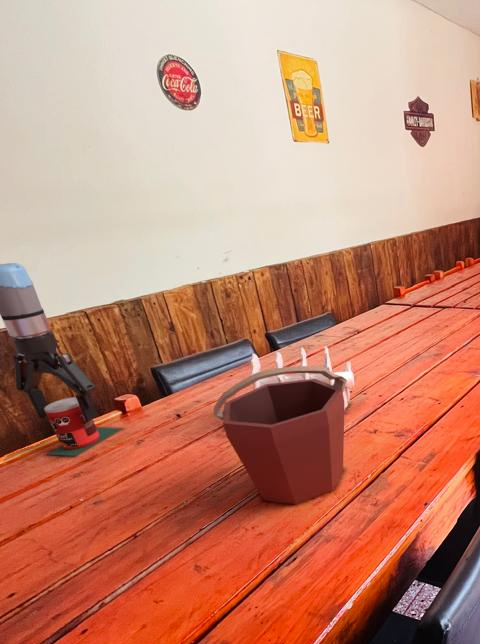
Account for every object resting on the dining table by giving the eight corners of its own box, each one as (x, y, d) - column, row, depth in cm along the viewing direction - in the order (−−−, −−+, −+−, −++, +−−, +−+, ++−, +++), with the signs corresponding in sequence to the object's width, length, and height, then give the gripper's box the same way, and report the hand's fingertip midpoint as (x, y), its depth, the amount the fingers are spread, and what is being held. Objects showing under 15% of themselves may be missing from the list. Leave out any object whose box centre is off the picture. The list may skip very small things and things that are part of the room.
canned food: (57, 446, 128) (38, 406, 124) (93, 432, 134) (76, 394, 129) (69, 453, 124) (50, 413, 120) (105, 439, 130) (88, 400, 125)
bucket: (363, 448, 119) (344, 346, 108) (359, 503, 99) (336, 384, 88) (253, 463, 115) (223, 359, 104) (227, 523, 96) (186, 402, 85)
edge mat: (47, 454, 125) (47, 454, 125) (95, 428, 137) (95, 427, 137) (74, 456, 123) (74, 455, 123) (120, 429, 136) (120, 428, 136)
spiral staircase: (357, 425, 139) (260, 434, 134) (356, 378, 149) (266, 384, 145) (349, 379, 124) (240, 387, 120) (348, 331, 135) (248, 336, 131)
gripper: (91, 330, 118) (124, 412, 127) (4, 328, 122) (41, 408, 132) (62, 340, 111) (98, 426, 120) (-29, 338, 116) (12, 421, 125)
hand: (68, 417), depth 126 cm, fingers open, 13 cm apart
